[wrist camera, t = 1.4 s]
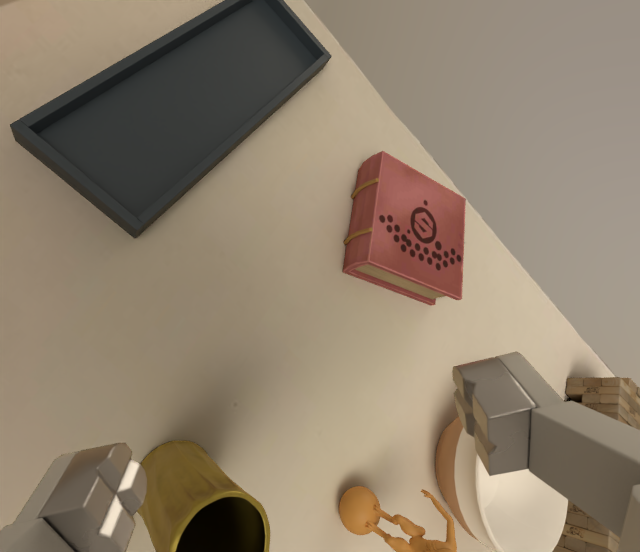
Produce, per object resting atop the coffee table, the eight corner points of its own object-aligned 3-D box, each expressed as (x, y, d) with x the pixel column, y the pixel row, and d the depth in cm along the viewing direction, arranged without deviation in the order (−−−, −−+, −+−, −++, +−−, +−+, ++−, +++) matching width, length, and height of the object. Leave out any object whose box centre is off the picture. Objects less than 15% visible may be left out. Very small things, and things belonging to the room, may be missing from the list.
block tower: (562, 369, 63) (538, 564, 49) (621, 367, 56) (612, 593, 42) (587, 394, 66) (571, 586, 51) (646, 394, 59) (647, 618, 44)
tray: (135, 238, 33) (137, 230, 31) (14, 140, 30) (9, 124, 28) (322, 68, 49) (331, 56, 47) (256, -7, 46) (263, -23, 44)
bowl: (471, 373, 51) (528, 373, 44) (521, 475, 51) (584, 491, 45) (398, 448, 42) (454, 463, 35) (459, 571, 42) (526, 608, 36)
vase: (203, 428, 32) (265, 461, 20) (218, 501, 32) (291, 579, 20) (125, 457, 29) (143, 517, 17) (140, 539, 28) (170, 660, 16)
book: (352, 167, 48) (377, 147, 44) (437, 212, 54) (465, 198, 50) (336, 269, 43) (361, 258, 39) (431, 305, 50) (461, 299, 45)
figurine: (354, 454, 39) (443, 482, 29) (391, 485, 40) (488, 523, 30) (312, 536, 35) (399, 602, 25) (355, 568, 36) (453, 643, 26)
